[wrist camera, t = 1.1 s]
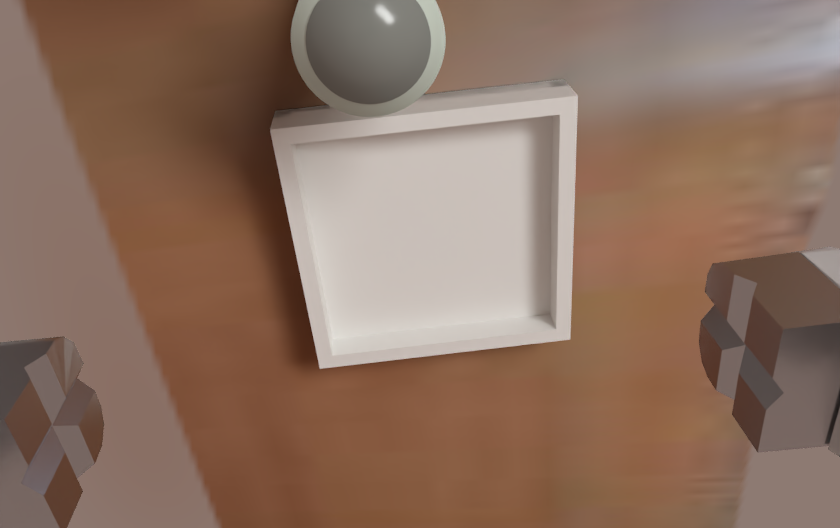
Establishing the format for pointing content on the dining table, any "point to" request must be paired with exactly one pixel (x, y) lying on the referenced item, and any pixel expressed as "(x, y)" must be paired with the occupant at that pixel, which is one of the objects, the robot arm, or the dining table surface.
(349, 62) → the sage cup
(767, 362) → the robot arm
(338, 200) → the grey tray
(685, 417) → the dining table surface
